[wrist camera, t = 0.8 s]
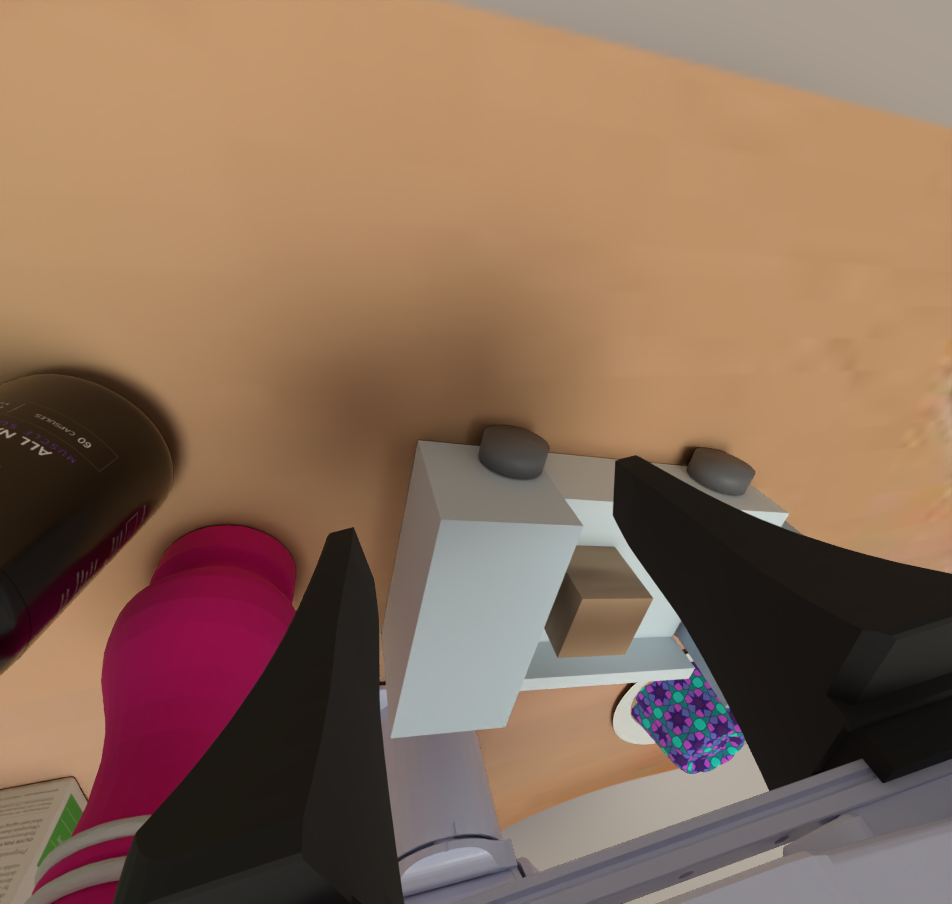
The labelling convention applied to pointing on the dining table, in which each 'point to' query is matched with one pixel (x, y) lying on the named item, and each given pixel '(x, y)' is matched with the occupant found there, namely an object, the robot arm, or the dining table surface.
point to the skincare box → (34, 831)
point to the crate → (596, 605)
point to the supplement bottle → (68, 495)
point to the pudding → (680, 722)
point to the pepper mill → (172, 691)
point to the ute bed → (516, 577)
